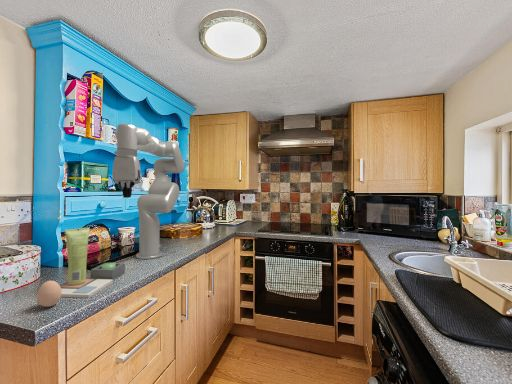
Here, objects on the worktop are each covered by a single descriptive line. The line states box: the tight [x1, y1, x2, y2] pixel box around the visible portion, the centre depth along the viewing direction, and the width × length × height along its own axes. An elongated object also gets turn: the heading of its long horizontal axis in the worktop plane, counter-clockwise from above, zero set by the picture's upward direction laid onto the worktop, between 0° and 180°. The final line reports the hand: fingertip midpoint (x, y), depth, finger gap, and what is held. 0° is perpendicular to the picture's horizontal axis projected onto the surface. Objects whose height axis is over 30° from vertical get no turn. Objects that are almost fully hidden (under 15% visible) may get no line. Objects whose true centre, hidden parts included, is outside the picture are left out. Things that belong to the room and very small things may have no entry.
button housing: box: [90, 262, 126, 281], centre depth 99 cm, size 8×8×4 cm
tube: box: [64, 227, 90, 285], centre depth 89 cm, size 6×5×20 cm
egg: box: [36, 280, 62, 308], centre depth 75 cm, size 6×6×8 cm
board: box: [59, 277, 114, 299], centre depth 87 cm, size 13×14×1 cm
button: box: [101, 262, 117, 269], centre depth 99 cm, size 5×5×4 cm
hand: (127, 197), depth 106 cm, fingers closed
